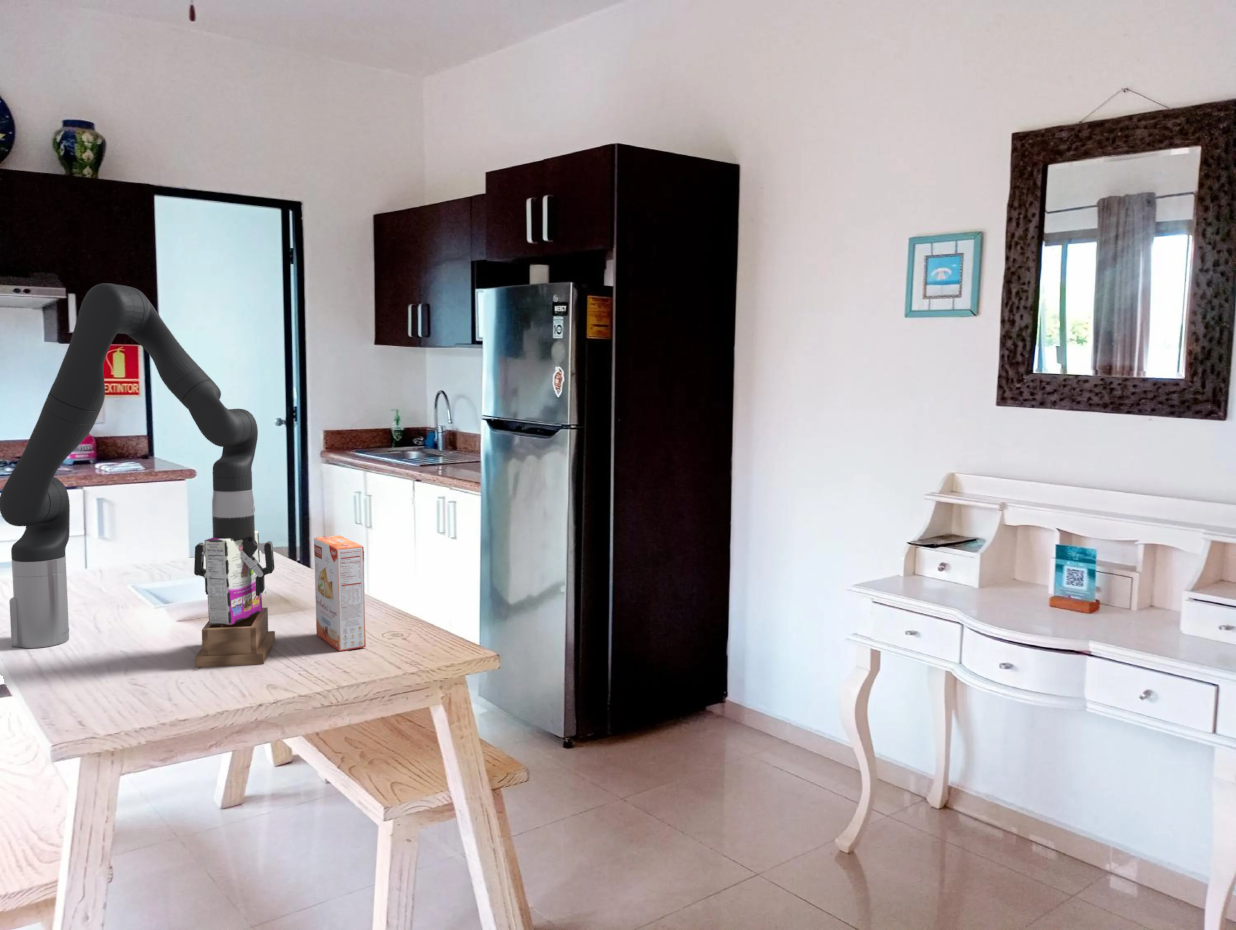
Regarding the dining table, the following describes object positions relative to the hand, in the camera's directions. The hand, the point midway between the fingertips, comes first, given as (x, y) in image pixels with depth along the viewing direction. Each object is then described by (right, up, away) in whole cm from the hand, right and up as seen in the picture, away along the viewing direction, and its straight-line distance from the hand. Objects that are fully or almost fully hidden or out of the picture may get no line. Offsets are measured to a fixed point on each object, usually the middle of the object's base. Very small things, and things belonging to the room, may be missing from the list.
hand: (235, 595), depth 187 cm
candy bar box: (0, -5, 0) cm, 5 cm away
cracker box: (+17, -11, +10) cm, 23 cm away
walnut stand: (0, -11, +1) cm, 11 cm away
